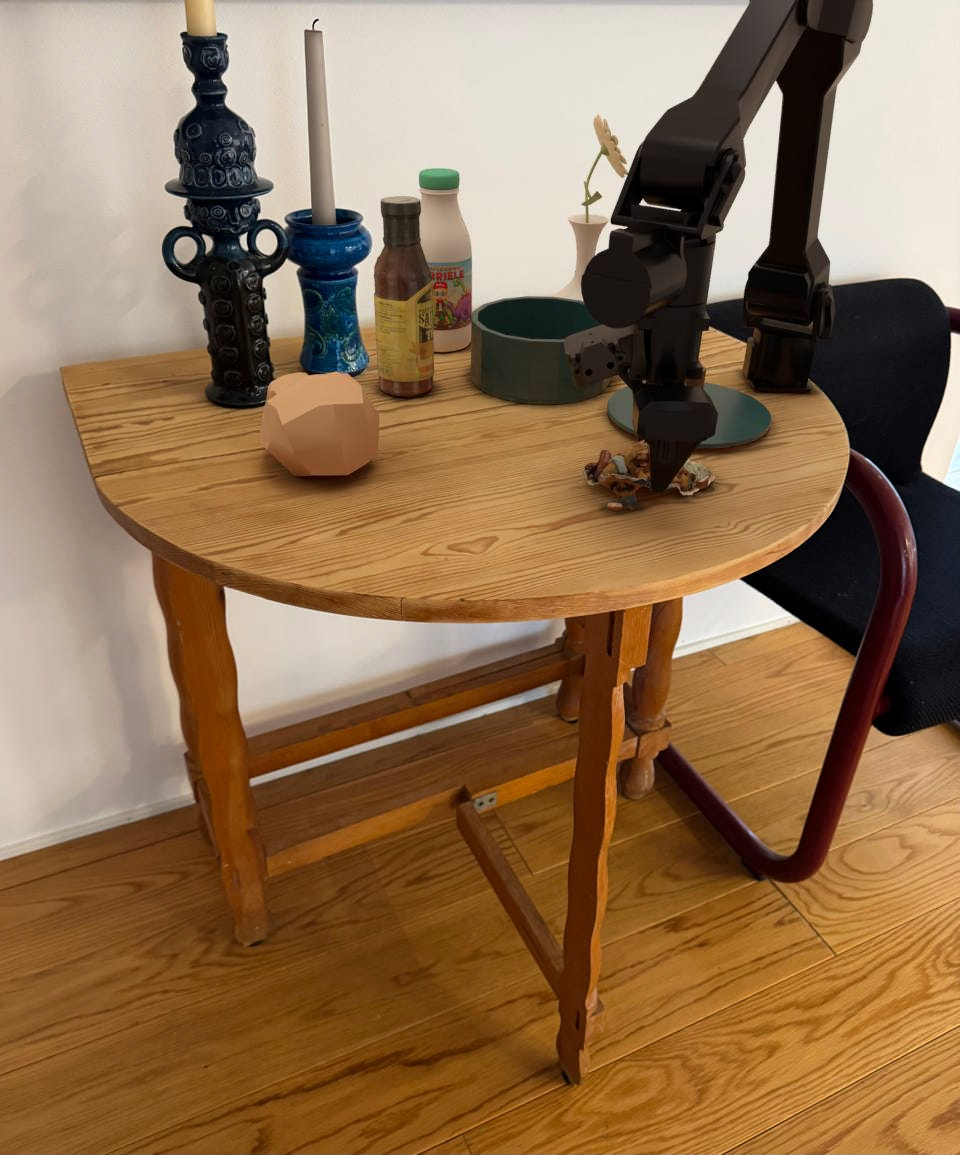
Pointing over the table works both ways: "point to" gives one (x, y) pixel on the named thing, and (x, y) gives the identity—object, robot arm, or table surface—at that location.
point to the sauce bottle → (403, 302)
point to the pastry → (640, 475)
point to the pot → (529, 349)
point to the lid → (735, 409)
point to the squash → (319, 424)
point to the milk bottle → (446, 258)
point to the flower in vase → (587, 224)
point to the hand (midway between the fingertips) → (650, 468)
